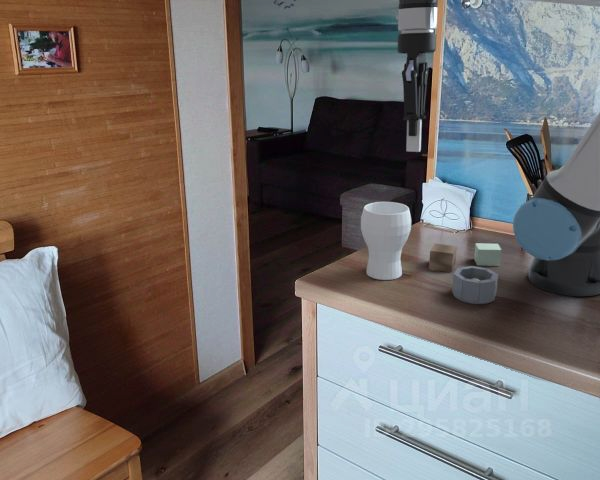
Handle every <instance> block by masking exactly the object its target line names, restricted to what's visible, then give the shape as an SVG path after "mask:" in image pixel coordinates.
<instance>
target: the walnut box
mask: <svg viewBox="0 0 600 480" xmlns="http://www.w3.org/2000/svg"><path fill="white" fill-rule="evenodd" d="M457 248H458V246H457V245H450V244H443V243H442V244H441V243H434V244H433V245H432V247H431V248H430V250H429V261H428V262H429V264H428V270H433V271H440V272H445V273H446V272H447V273H453V271H454V268H455V267H456V263H457V262H456V261H457V250H458V249H457Z"/></svg>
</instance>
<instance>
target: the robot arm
mask: <svg viewBox="0 0 600 480" xmlns="http://www.w3.org/2000/svg"><path fill="white" fill-rule="evenodd" d="M527 1H529V2H530V1H531V2H542V3H554V4H564V5H575V6H587V7H598V8H600V0H527ZM438 3H439V0H398V14H397V15H395V20H396V21H397V30H398V31H399V32H401V33H399V34H398V35H397V53H398V54H406V61H405V63H404V65H403V70H402V71H401V76H402V77H401V78H402V85H403V90H402V91H403V117H402V120H403V121H406V146H405V147H406V151H405V152H412V153H413V152H414V153H415V152H416V153H419V152H421V150H422V126H423V125H422V124H423V122H422V121H423V120H426V118H427V117H426V116H427V115H425V112H426V111H425V110H426V109H425V108H426V107H425V106H426V96H427V85H428V78H429V77H428V76H429V72H430V69H429V65H428V62H426V61H427V60H426V54H429V53H434V52H436V51H437V34H436V32H435V30H437V29H438V9H439V7H438V6H439V5H438ZM422 119H423V120H422ZM512 230H513V233H514V236H515V240H516V242H517V243H518V245H519V246H520V247H521V248H522V250H524V251H525V252H526V253H527V254H529V255H530V256H532V257H533V259H532V261H531V263H530V265H529V269H528V276H527V277H528V280H529V281H530V282H531V283H532V284H533V285H534V286H536V287H538V288H540V289H542V290H545V291H548V292H550V293H554V294H559V295H563V296H571V297H593V296H598V295H600V111H599V112H598V114H597V115H596V117H595V119H594V120H593V121H592V123H591V125H589V127H588V129H587V131H586V132H585V133H584V135H583V136H582V137H581V139H580V141H579V143H578V144H577V145H576V147H575V149H574V150H573V151H572V153H571V154H570V156H569V157H568V159H567V160H566V161H565V163H564V165H563V166H562V168H560V169H557V170H556V169H555V170H551V171H548V173H547V174H546V175H545V178H544V179H543V180H542V181H541V183H540V185H539V187H537V189H536V191H535V192H534V194H533V195H532V196H531V198H530V199H528V200H526V201H525V202H523V204H521V205H520V206H519V208H518V210H517V211H516V213H515V214H514V216H513V220H512Z"/></svg>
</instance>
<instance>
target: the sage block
mask: <svg viewBox="0 0 600 480" xmlns="http://www.w3.org/2000/svg"><path fill="white" fill-rule="evenodd" d="M501 259H502V248H501V246H500V245H499V243H480V242H479V243H478V242H477V243H476V242H475V245H474V256H473V260H474V262H475V264H476V267H481V266H484V267H501Z"/></svg>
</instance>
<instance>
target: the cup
mask: <svg viewBox="0 0 600 480" xmlns="http://www.w3.org/2000/svg"><path fill="white" fill-rule="evenodd" d="M360 230H361V233H362V237H363V240H364V242H365V244H366V246H367V249H368V261H367V264H366V265H367V266H366V271H365V272H366V275H367V276H368V277H370V278H372V279H376V280H383V281H390V280H391V281H392V280H396V279H398V278H400V277H402V275H403V271H402V270H403V269H402V262H401V261H402V260H401V256H402V251H403V248H404V246H405V244H406V242H407V241H408V238H409V237H410V233H411V230H412V216H411V211H410V208H409V206H407V205H406V204H404V203H399V202H394V201H375V202H371V203H368V204H366V205H364V207H363V208H362V213H361V216H360Z"/></svg>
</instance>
